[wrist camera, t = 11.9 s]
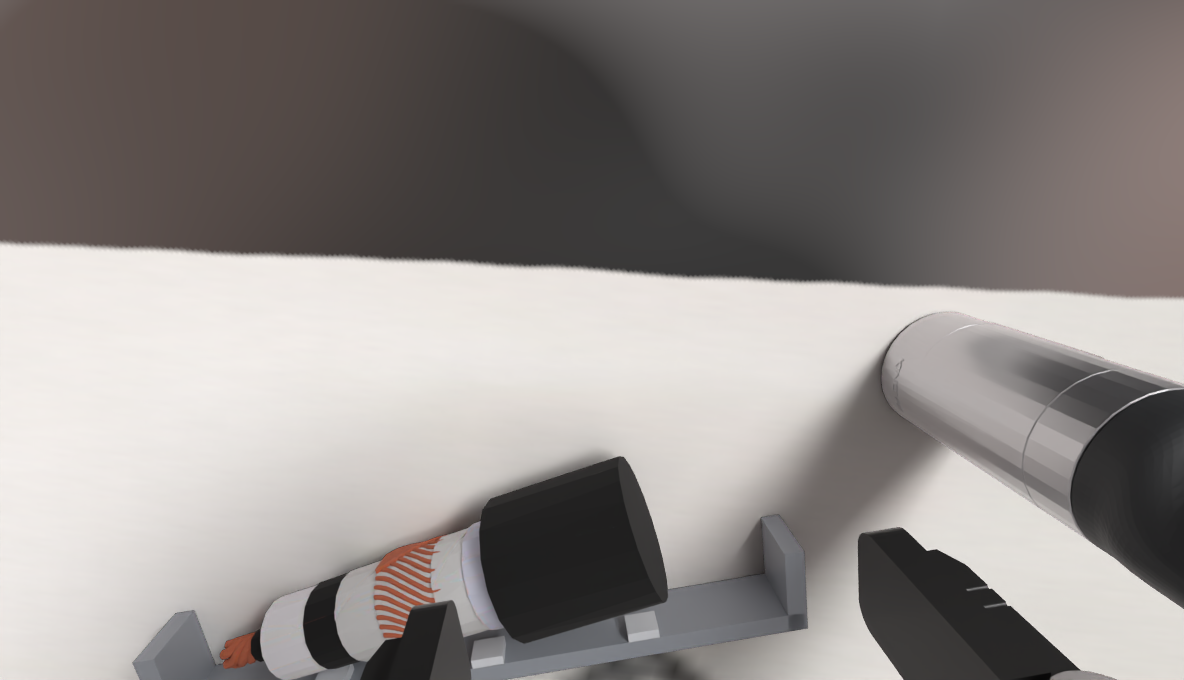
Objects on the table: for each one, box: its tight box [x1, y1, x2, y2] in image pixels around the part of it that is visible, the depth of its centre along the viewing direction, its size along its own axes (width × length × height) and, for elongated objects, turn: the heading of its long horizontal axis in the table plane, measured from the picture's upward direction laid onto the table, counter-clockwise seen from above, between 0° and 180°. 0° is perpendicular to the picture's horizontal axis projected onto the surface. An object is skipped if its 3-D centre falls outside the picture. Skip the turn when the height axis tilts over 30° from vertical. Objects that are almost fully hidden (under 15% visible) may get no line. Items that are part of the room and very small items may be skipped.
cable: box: [220, 456, 668, 680], centre depth 43 cm, size 10×34×10 cm, turn 111°
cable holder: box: [133, 515, 808, 680], centre depth 46 cm, size 50×7×5 cm, turn 98°
